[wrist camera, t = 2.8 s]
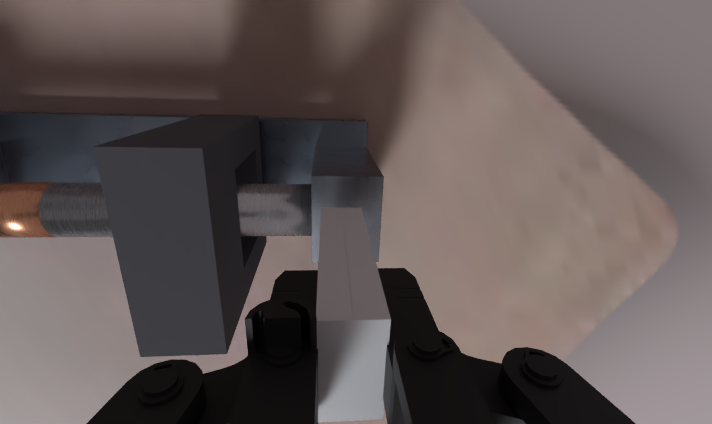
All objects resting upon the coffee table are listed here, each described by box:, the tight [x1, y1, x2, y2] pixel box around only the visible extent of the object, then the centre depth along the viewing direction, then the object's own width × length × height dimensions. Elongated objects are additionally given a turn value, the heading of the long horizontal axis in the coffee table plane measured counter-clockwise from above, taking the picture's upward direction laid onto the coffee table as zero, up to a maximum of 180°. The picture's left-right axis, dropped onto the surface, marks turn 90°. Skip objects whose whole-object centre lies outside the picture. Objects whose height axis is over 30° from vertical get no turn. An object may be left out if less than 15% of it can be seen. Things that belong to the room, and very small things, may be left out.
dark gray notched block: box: [93, 115, 266, 357], centre depth 16 cm, size 3×8×10 cm, turn 178°
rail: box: [0, 112, 384, 263], centre depth 18 cm, size 23×7×7 cm, turn 88°
